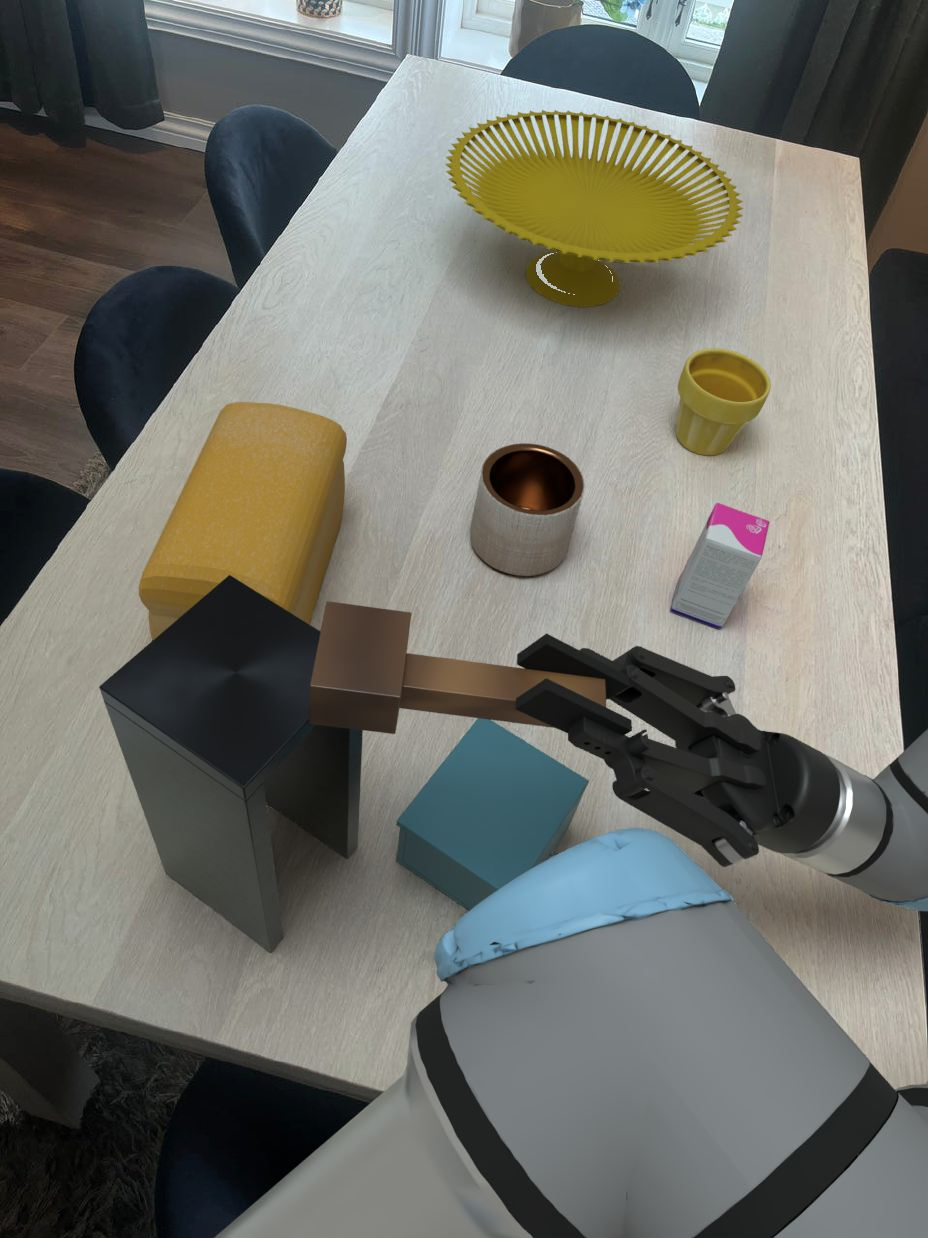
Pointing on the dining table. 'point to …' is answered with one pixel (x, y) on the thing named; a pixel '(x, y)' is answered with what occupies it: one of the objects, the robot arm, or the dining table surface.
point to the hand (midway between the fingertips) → (531, 671)
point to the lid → (493, 804)
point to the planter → (526, 508)
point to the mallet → (411, 676)
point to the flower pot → (718, 398)
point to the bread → (252, 513)
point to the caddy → (450, 875)
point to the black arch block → (233, 750)
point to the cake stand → (590, 202)
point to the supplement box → (720, 566)
